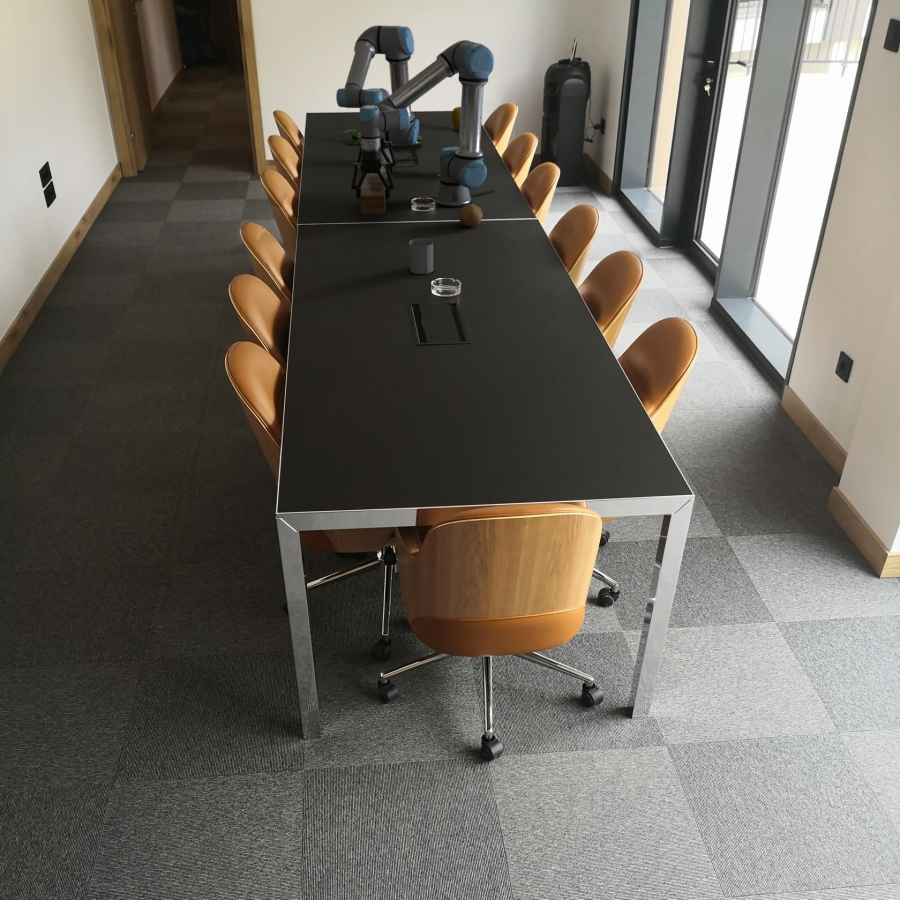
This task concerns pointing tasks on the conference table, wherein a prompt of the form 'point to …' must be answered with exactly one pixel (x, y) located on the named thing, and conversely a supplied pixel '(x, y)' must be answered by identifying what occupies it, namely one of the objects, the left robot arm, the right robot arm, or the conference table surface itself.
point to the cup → (421, 256)
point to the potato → (470, 215)
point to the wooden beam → (373, 194)
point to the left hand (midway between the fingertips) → (377, 181)
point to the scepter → (354, 137)
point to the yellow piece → (456, 118)
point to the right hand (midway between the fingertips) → (373, 206)
